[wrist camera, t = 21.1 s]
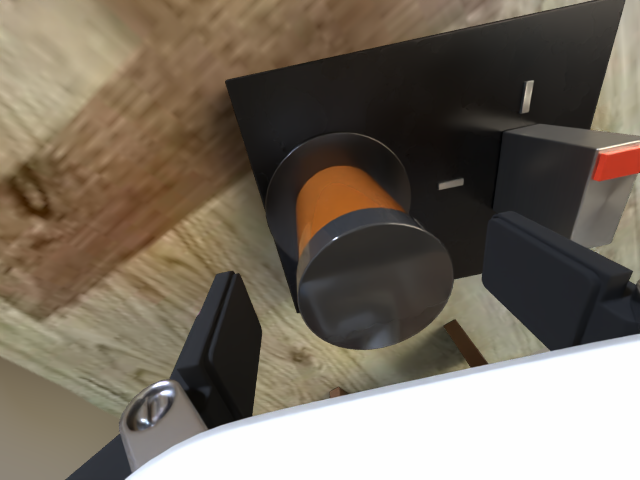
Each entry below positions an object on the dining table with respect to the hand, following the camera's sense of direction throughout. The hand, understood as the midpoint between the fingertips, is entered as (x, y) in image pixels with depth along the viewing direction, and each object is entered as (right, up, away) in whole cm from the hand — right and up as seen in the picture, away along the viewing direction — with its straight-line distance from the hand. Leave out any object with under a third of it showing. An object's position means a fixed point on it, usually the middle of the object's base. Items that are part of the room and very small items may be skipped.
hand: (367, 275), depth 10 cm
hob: (+4, +5, +7) cm, 10 cm away
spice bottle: (-1, +3, +5) cm, 6 cm away
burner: (-1, +3, +5) cm, 6 cm away
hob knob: (+9, +5, +5) cm, 12 cm away
